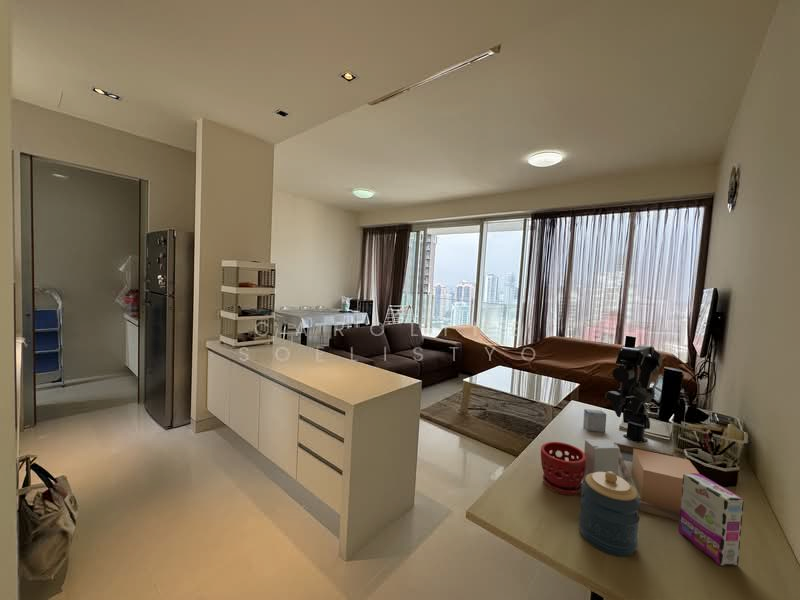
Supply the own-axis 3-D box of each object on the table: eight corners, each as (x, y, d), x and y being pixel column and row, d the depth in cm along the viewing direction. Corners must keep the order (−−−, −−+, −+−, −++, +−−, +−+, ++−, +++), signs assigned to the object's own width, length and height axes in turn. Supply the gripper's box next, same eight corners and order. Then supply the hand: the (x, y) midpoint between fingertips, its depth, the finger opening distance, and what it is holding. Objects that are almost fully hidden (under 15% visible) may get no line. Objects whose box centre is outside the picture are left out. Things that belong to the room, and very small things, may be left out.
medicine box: (600, 428, 154) (601, 410, 154) (605, 432, 150) (606, 413, 150) (582, 426, 155) (584, 408, 155) (587, 431, 151) (588, 412, 150)
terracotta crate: (631, 476, 115) (633, 448, 114) (686, 489, 108) (688, 459, 108) (641, 501, 101) (643, 469, 101) (704, 518, 95) (707, 484, 94)
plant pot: (543, 470, 117) (545, 437, 116) (586, 484, 109) (588, 449, 109) (534, 488, 106) (536, 452, 106) (581, 505, 99) (583, 466, 98)
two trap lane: (613, 448, 135) (614, 442, 135) (675, 461, 126) (675, 454, 126) (634, 510, 98) (635, 501, 97) (724, 534, 89) (725, 524, 89)
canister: (650, 552, 82) (655, 483, 81) (609, 563, 78) (614, 491, 77) (604, 516, 94) (608, 456, 93) (567, 524, 90) (571, 461, 89)
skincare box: (605, 481, 111) (608, 438, 110) (618, 493, 105) (621, 447, 104) (581, 481, 111) (584, 438, 110) (592, 493, 105) (595, 447, 104)
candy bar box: (739, 566, 78) (746, 499, 78) (720, 567, 78) (726, 499, 77) (694, 530, 90) (699, 472, 89) (677, 531, 89) (682, 472, 88)
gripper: (632, 386, 125) (629, 426, 126) (666, 382, 131) (663, 421, 132) (605, 377, 135) (603, 415, 136) (637, 375, 141) (635, 410, 142)
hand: (626, 415), depth 136 cm, fingers open, 9 cm apart
